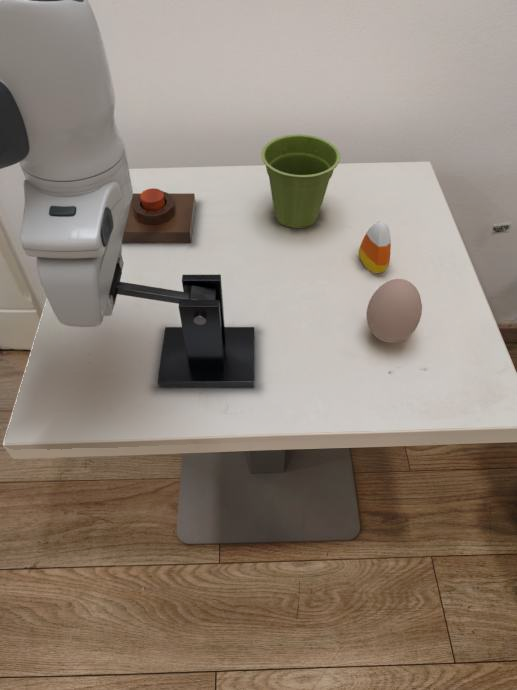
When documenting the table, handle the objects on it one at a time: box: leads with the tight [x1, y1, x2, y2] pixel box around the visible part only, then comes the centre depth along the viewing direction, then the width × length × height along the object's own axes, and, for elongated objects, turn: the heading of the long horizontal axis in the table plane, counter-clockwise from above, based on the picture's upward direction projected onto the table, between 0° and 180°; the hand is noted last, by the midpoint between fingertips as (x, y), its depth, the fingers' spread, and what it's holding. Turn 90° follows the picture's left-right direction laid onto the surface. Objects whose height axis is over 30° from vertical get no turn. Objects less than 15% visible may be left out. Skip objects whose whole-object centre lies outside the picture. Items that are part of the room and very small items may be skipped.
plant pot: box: [261, 133, 341, 229], centre depth 82 cm, size 12×12×11 cm
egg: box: [366, 278, 423, 343], centre depth 66 cm, size 7×7×10 cm
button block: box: [122, 190, 197, 244], centre depth 83 cm, size 12×10×4 cm
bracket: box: [157, 274, 255, 388], centre depth 63 cm, size 12×9×13 cm
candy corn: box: [358, 220, 392, 274], centre depth 76 cm, size 6×3×8 cm, turn 25°
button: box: [140, 187, 165, 211], centre depth 81 cm, size 4×4×2 cm
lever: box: [109, 267, 216, 306], centre depth 58 cm, size 12×5×2 cm, turn 90°
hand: (110, 290), depth 57 cm, fingers closed on lever, 5 cm apart
